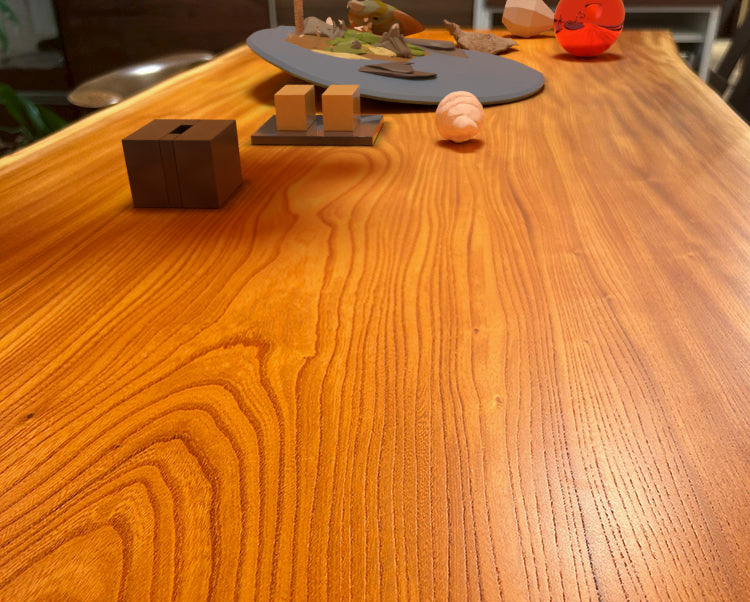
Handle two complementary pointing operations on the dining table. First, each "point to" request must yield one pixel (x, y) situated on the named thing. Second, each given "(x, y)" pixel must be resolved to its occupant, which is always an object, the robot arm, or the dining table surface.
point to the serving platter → (392, 64)
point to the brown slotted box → (183, 163)
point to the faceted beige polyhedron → (527, 17)
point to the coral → (478, 40)
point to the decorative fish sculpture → (381, 18)
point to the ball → (588, 25)
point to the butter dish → (318, 118)
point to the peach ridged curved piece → (459, 116)
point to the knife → (299, 16)
